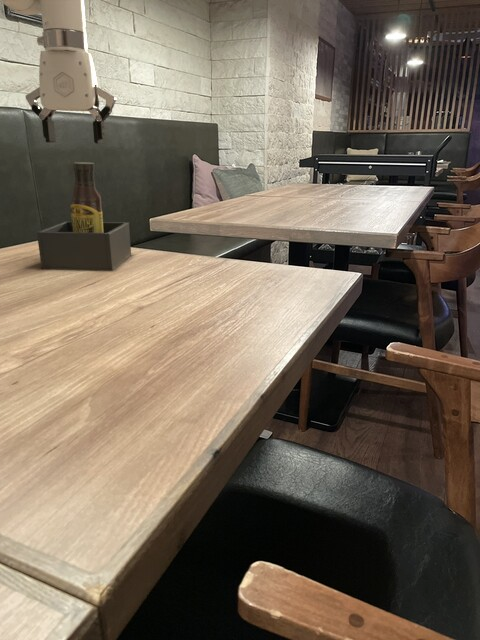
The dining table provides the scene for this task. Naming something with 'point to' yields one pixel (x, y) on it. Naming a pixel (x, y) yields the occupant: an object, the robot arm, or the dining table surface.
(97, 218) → the sauce bottle
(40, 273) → the dining table surface
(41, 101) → the robot arm
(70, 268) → the tub
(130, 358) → the dining table surface
